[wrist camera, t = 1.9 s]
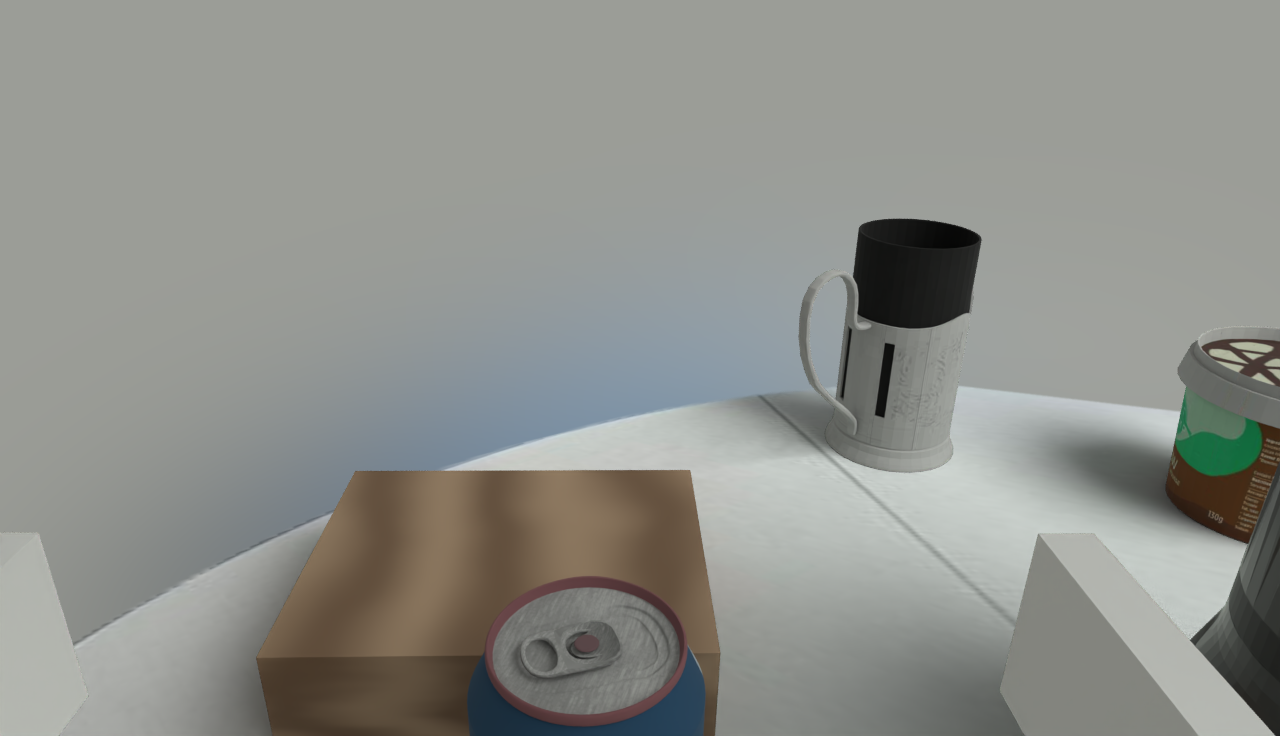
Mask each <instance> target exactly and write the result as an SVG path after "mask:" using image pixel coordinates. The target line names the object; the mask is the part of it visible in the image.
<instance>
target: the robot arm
mask: <svg viewBox="0 0 1280 736" xmlns="http://www.w3.org/2000/svg"><path fill="white" fill-rule="evenodd" d="M999 691H1000V692H1001V694H1002V696H1003V698H1004V700H1005V701H1006V703H1007V705H1008V707H1009V709H1010V710H1011V712H1012V714H1013V716H1014V718H1015V719H1016V721H1017V723H1018V725H1019V727H1020V728H1021V730H1022V732H1023V734H1024V735H1025V736H1280V461H1279V464H1278V467H1277V470H1276V472H1275V475H1274V478H1273V480H1272V483H1271V485H1270V488H1269V491H1268V493H1267V496H1266V499H1265V501H1264V504H1263V506H1262V509H1261V512H1260V514H1259V517H1258V519H1257V522H1256V525H1255V527H1254V530H1253V533H1252V535H1251V538H1250V540H1249V543H1248V546H1247V548H1246V551H1245V553H1244V556H1243V559H1242V561H1241V565H1240V568H1239V571H1238V573H1237V576H1236V579H1235V582H1234V584H1233V587H1232V589H1231V592H1230V595H1229V598H1228V600H1227V602H1226V604H1225V606H1224V607H1223V608H1222V609H1221V610H1220V611H1219V612H1218V613H1217V614H1216V615H1215V616H1214V617H1213V618H1212V619H1211V620H1210V621H1209V622H1208V623H1207V624H1206V625H1205V626H1204V627H1203V628H1202V629H1201V630H1200V631H1199V632H1198V633H1197V634H1196V635H1195V636H1194V637H1193V638H1192V639H1191V640H1189V639H1188V638H1187V637H1186V636H1185V634H1184V633H1183V632H1182V631H1181V630H1180V629H1179V628H1178V627H1177V625H1176V624H1175V623H1174V622H1173V621H1172V620H1171V619H1170V618H1169V617H1168V615H1167V614H1166V613H1165V612H1164V611H1163V610H1162V609H1161V608H1160V607H1159V605H1158V604H1157V603H1156V602H1155V601H1154V600H1153V599H1152V598H1151V596H1150V595H1149V594H1148V593H1147V592H1146V591H1145V590H1144V589H1143V588H1142V586H1141V585H1140V584H1139V583H1138V582H1137V581H1136V580H1135V579H1134V578H1133V576H1132V575H1131V574H1130V573H1129V572H1128V571H1127V570H1126V569H1125V567H1124V566H1123V565H1122V564H1121V563H1120V562H1119V561H1118V560H1117V559H1116V557H1115V556H1114V555H1113V554H1112V553H1111V552H1110V551H1109V550H1108V549H1107V547H1106V546H1105V545H1104V544H1103V543H1102V542H1101V541H1100V540H1099V539H1098V537H1097V536H1096V535H1095V534H1038V537H1037V541H1036V545H1035V549H1034V553H1033V557H1032V561H1031V565H1030V569H1029V573H1028V577H1027V581H1026V585H1025V589H1024V593H1023V597H1022V601H1021V605H1020V609H1019V613H1018V618H1017V622H1016V626H1015V630H1014V634H1013V638H1012V642H1011V646H1010V650H1009V654H1008V658H1007V662H1006V666H1005V670H1004V674H1003V678H1002V682H1001V686H1000V690H999ZM88 696H89V695H88V692H87V689H86V685H85V682H84V679H83V676H82V672H81V669H80V666H79V663H78V659H77V656H76V653H75V650H74V646H73V643H72V640H71V637H70V633H69V630H68V627H67V624H66V621H65V618H64V614H63V611H62V608H61V604H60V601H59V598H58V595H57V591H56V588H55V585H54V582H53V579H52V575H51V572H50V569H49V566H48V562H47V559H46V556H45V553H44V549H43V546H42V543H41V540H40V536H39V533H0V736H59V735H60V734H61V732H62V731H63V730H64V728H65V727H66V726H67V724H68V723H69V722H70V720H71V719H72V718H73V716H74V715H75V714H76V712H77V711H78V710H79V708H80V707H81V706H82V704H83V703H84V702H85V700H86V699H87V698H88Z"/></svg>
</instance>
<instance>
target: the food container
mask: <svg viewBox="0 0 1280 736" xmlns="http://www.w3.org/2000/svg"><path fill="white" fill-rule="evenodd" d="M1178 375H1179V377H1180V379H1181V381H1182V382H1183V383H1184V384H1185V385H1186V390H1185V395H1184V400H1183V404H1182V409H1181V414H1180V419H1179V423H1178V428H1177V433H1176V438H1175V443H1174V447H1173V452H1172V457H1171V462H1170V467H1169V471H1168V476H1167V481H1166V493H1167V496H1168V497H1169V499H1170V500H1171V502H1172V503H1173V504H1174V505H1175V506H1176V507H1177V508H1178V509H1179V510H1181V511H1182V512H1183V513H1184V514H1186V515H1187V516H1189V517H1190V518H1192V519H1193V520H1195V521H1196V522H1198V523H1200V524H1202V525H1204V526H1206V527H1207V528H1209V529H1212V530H1214V531H1216V532H1218V533H1220V534H1223V535H1225V536H1228V537H1230V538H1233V539H1236V540H1238V541H1242V542H1245V543H1249V540H1250V538H1251V535H1252V533H1253V530H1254V527H1255V525H1256V522H1257V519H1258V517H1259V514H1260V512H1261V509H1262V506H1263V504H1264V501H1265V499H1266V496H1267V493H1268V491H1269V488H1270V485H1271V483H1272V480H1273V478H1274V475H1275V472H1276V470H1277V467H1278V464H1279V461H1280V328H1271V327H1258V326H1233V327H1222V328H1217V329H1212V330H1209V331H1207V332H1204V333H1203V334H1202V335H1200V337H1199V338H1198V340H1197V341H1196V342H1194V343H1193V344H1192V345H1191V346H1190V348H1189V350H1188V352H1187V353H1186V355H1185V357H1184V358H1183V360H1182V362H1181V363H1180V365H1179V367H1178Z"/></svg>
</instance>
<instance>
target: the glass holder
mask: <svg viewBox="0 0 1280 736" xmlns="http://www.w3.org/2000/svg"><path fill="white" fill-rule="evenodd" d="M980 245H981V237H980V236H979V235H978V234H977V233H975V232H973V231H971V230H968V229H966V228H963V227H960V226H956V225H952V224H947V223H942V222H936V221H929V220H918V219H883V220H875V221H871V222H867V223H864V224H862V225H861V226H860V227H859V232H858V240H857V248H856V257H855V266H854V273H853V277H852V276H851V275H849V274H848V273H847V272H845V271H842V270H836V269H832V270H829V271H826V272H824V273H823V274H821V275H820V276H818V277H817V278H816V279H815V280H814V281H813V282H812V284H811V285H810V286H809V287H808V290H807V292H806V294H805V296H804V298H803V302H802V307H801V313H800V323H799V346H800V356H801V359H802V363H803V367H804V370H805V373H806V376H807V378H808V380H809V383H810V384H811V385H812V387H813V388H814V389H815V390H816V391H817V392H818V393H819V394H820V395H821V396H822V397H823V398H824V399H825V400H826V401H827V402H828V403H830V404H831V405H832V406H833V407H835V409H834V415H833V418H832V420H831V421H830V422H829V424H828V425H827V428H826V431H825V437H826V440H827V442H828V444H829V445H830V446H831V447H832V448H833V449H834V450H835V451H836V452H837V453H839V454H840V455H842V456H844V457H845V458H847V459H849V460H851V461H853V462H856V463H859V464H861V465H864V466H868V467H871V468H875V469H880V470H885V471H893V472H921V471H927V470H932V469H934V468H937V467H940V466H942V465H944V464H945V463H947V462H948V461H949V460H950V459H951V457H952V454H953V445H952V442H951V439H950V426H951V421H952V415H953V410H954V404H955V399H956V394H957V388H958V383H959V377H960V372H961V366H962V361H963V355H964V350H965V344H966V339H967V333H968V328H969V322H970V317H971V311H972V304H973V284H974V278H975V273H976V267H977V262H978V256H979V250H980ZM838 276H840V277H841V278H842V279H843V281H844V282H845V284H846V288H847V308H846V317H845V326H844V334H843V343H842V351H841V359H840V367H839V375H838V384H837V392H836V400H835V399H834V398H833V397H832V396H831V395H830V394H829V393H828V392H827V391H826V390H825V389H824V387H823V386H822V385H821V383H820V382H819V379H818V377H817V374H816V372H815V368H814V365H813V362H812V358H811V350H810V318H811V313H812V308H813V303H814V301H815V299H816V296H817V294H818V292H819V290H820V289H821V288H822V287H823V286H824V284H825V283H827V282H828V281H830V280H831V279H833V278H835V277H838Z"/></svg>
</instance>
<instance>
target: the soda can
mask: <svg viewBox="0 0 1280 736" xmlns="http://www.w3.org/2000/svg"><path fill="white" fill-rule="evenodd" d="M705 696H706V692H705V683H704V678H703V674H702V671H701V669H700V666H699V664H698V662H697V660H696V658H695V656H694V654H693V653H692V651H691V649H690V648H689V646H688V645H687V637H686V632H685V629H684V626H683V624H682V622H681V620H680V618H679V617H678V615H677V614H676V612H675V611H674V610H673V609H672V608H671V606H670V605H669V604H668V603H666V602H665V601H664V600H663V599H662V598H660V597H659V596H657V595H656V594H654V593H653V592H651V591H649V590H647V589H645V588H643V587H641V586H638V585H636V584H633V583H630V582H626V581H623V580H619V579H614V578H609V577H601V576H579V577H571V578H566V579H561V580H557V581H553V582H550V583H546V584H544V585H541V586H538V587H536V588H534V589H531V590H529V591H527V592H526V593H524V594H522V595H521V596H519V597H517V598H516V599H515V600H513V601H512V602H511V603H509V604H508V605H507V606H506V607H505V608H504V609H503V610H502V611H501V612H500V613H499V615H498V616H497V617H496V619H495V620H494V622H493V624H492V625H491V627H490V629H489V632H488V635H487V638H486V643H485V651H484V653H483V655H482V657H481V658H480V660H479V662H478V664H477V666H476V668H475V670H474V672H473V675H472V677H471V680H470V684H469V688H468V694H467V710H468V722H469V734H470V736H703V732H704V715H705Z"/></svg>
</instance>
